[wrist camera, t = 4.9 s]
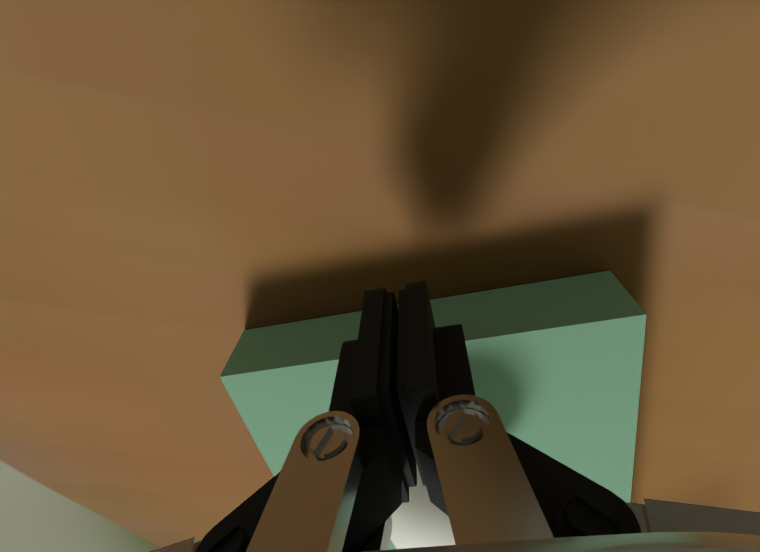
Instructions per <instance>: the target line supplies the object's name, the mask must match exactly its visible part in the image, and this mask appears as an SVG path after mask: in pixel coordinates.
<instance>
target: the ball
mask: <svg viewBox="0 0 760 552" xmlns="http://www.w3.org/2000/svg"><path fill="white" fill-rule="evenodd" d="M416 465H417V463H416ZM391 517H392V532H391V538H390V539H391V541H392V543H393V544H394V546H395V547H396V549H405V548H419V547H432V546H446V545H456V544H455V540H454V536H453V532H452V528H451V524H450V520H449V517H448V516H447V515H446V514H445V513H444V512H442V511H441V510H440V509H439V508H438V507H436V506H435V505H434V504H433V503H431V502H430V499H429V495H428V491H427V488H426V485H425V486H423V484H422V480H421V477H420V473H419V470H418V466H417V486H415V487H409V502H406V503H402V504H401V505H400V507H399V508H398V509H397V510H396V511H395V512H394V513H393V514H392V515H391Z"/></svg>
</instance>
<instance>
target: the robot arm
mask: <svg viewBox="0 0 760 552" xmlns="http://www.w3.org/2000/svg"><path fill="white" fill-rule="evenodd" d="M416 463H417V465H416ZM417 466H418V470H419V473H420V477H421V480H422V484H423V486H425V485H426V488H427V491H428V495H429V499H430V502H431V503H433V504H434V505H435V506H436V507H438V508H439V509H440V510H441V511H442V512H444V513H445V514H446V515H447V516H448V517H449V520H450V524H451V528H452V532H453V536H454V540H455V544H456V545H446V546H432V547H419V548H405V549H392V550H389V544H390V538H391V532H392V517H391V515H392V514H393V513H394V512H395V511H396V510H397V509H398V508H399V507H400V505H401V504H402V503H406V502H409V487H415V486H417ZM151 552H760V512H752V511H743V510H735V509H727V508H719V507H710V506H702V505H694V504H685V503H677V502H669V501H660V500H652V499H644V501H643V504H636V503H628V502H624V500H622V499H621V498H620V497H618V496H617V495H615V494H614V493H613V492H611V491H610V490H608V489H606V488H605V487H603V486H601V485H599V484H597V483H596V482H594V481H592V480H590V479H589V478H587V477H585V476H583V475H582V474H580V473H578V472H576V471H575V470H573V469H571V468H569V467H568V466H566V465H564V464H562V463H560V462H559V461H557V460H555V459H553V458H552V457H550V456H548V455H546V454H545V453H543V452H541V451H539V450H538V449H536V448H534V447H532V446H531V445H529V444H527V443H525V442H524V441H522V440H520V439H518V438H516V437H515V436H513V435H511V434H509V433H508V432H506V430H505V428H504V425H503V423H502V421H501V419H500V417H499V414H498V412H497V411H496V409H495V408H494V407H493V405H492V404H490V403H489V402H488V401H486V400H485V399H483V398H480V397H477V396H476V395H475V390H474V385H473V380H472V374H471V369H470V364H469V359H468V354H467V348H466V343H465V338H464V333H463V328H462V324H456V325H449V326H443V327H435V322H434V317H433V313H432V308H431V303H430V298H429V293H428V288H427V284H426V281H422V282H416V283H410V284H406V290H400V291H399V308H398V306H397V302H396V298H395V295H394V292H388V293H387V291H386V289H385V288H381V289H375V290H369V291H365V293H364V300H363V307H362V313H361V320H360V326H359V333H358V340H351V341H344V342H343V344H342V347H341V351H340V357H339V362H338V367H337V372H336V377H335V382H334V387H333V392H332V397H331V402H330V407H329V412H325V413H322V414H320V415H317V416H315V417H314V418H312V419H311V420H309V421H308V422H307V423H306V424H305V425H304V426H303V427H302V428H301V429H300V430H299V432H298V433H297V435H296V437H295V439H294V441H293V444H292V446H291V448H290V451H289V453H288V455H287V458H286V460H285V462H284V465H283V467H282V469H281V471H280V472H279V473H278V474H277V475H276V476H274V477H273V478H272V479H271V480H270V481H268V482H267V483H266V484H265V485H264V486H262V487H261V488H260V489H259V490H258V491H256V492H255V493H254V494H253V495H252V496H250V497H249V498H248V499H247V500H246V501H244V502H243V503H242V504H241V505H240V506H238V507H237V508H236V509H235V510H234V511H232V512H231V513H230V514H229V515H228V516H226V517H225V518H224V519H223V520H222V521H220V522H219V523H218V524H217V525H216V526H214V527H213V528H212V529H211V530H210V531H209V532H208V533H207V534H206V535H205V537H204V538H203V540H202V541H199V542H198V541H197V539H196V538H195V537H193V538H190V539H187V540H184V541H181V542H178V543H175V544H172V545H169V546H166V547H163V548H160V549H157V550H154V551H151Z"/></svg>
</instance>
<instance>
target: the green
mask: <svg viewBox="0 0 760 552" xmlns="http://www.w3.org/2000/svg"><path fill="white" fill-rule="evenodd" d="M430 303H431V308H432V313H433V317H434V322H435V327H443V326H449V325H456V324H462V328H463V333H464V338H465V343H466V348H467V354H468V359H469V364H470V369H471V374H472V380H473V385H474V390H475V395H476V396H477V397H480V398H483V399H485V400H486V401H488V402H489V403H490V404H492V405H493V407H494V408H495V409H496V411H497V412H498V414H499V417H500V419H501V421H502V423H503V425H504V428H505V430H506V432H508V433H509V434H511V435H513V436H515V437H516V438H518V439H520V440H522V441H524V442H525V443H527V444H529V445H531V446H532V447H534V448H536V449H538V450H539V451H541V452H543V453H545V454H546V455H548V456H550V457H552V458H553V459H555V460H557V461H559V462H560V463H562V464H564V465H566V466H568V467H569V468H571V469H573V470H575V471H576V472H578V473H580V474H582V475H583V476H585V477H587V478H589V479H590V480H592V481H594V482H596V483H597V484H599V485H601V486H603V487H605V488H606V489H608V490H610V491H611V492H613V493H614V494H615V495H617V496H618V497H620V498H621V499H622V500H624V502H628V503H630V500H631V489H632V477H633V465H634V454H635V442H636V431H637V419H638V407H639V396H640V384H641V373H642V361H643V349H644V338H645V326H646V315H647V314H646V313H645V312H644V311H643V310H642V308H641V307H640V306H639V305H638V304H637V302H636V301H635V300H634V299H633V297H632V296H631V295H630V294H629V293H628V291H627V290H626V289H625V288H624V287H623V285H622V284H621V283H620V282H619V281H618V279H617V278H616V277H615V276H614V275H613V273H612V272H611V271H610V270H609V271H603V272H597V273H591V274H585V275H579V276H572V277H566V278H560V279H554V280H548V281H542V282H536V283H530V284H523V285H517V286H511V287H505V288H499V289H493V290H487V291H481V292H474V293H468V294H462V295H456V296H450V297H444V298H438V299H431V300H430ZM397 306H398V308H399V305H397ZM361 313H362V311H358V312H352V313H346V314H340V315H333V316H327V317H321V318H315V319H309V320H303V321H297V322H291V323H284V324H278V325H272V326H266V327H260V328H254V329H248V330H244V331H243V333H242V335H241V337H240V339H239V341H238V343H237V345H236V347H235V349H234V350H233V352H232V354H231V356H230V358H229V360H228V362H227V364H226V366H225V368H224V369H223V371H222V373H221V375H220V378H221V380H222V382H223V384H224V386H225V388H226V389H227V391H228V393H229V395H230V397H231V399H232V400H233V402H234V404H235V406H236V408H237V410H238V411H239V413H240V415H241V417H242V419H243V421H244V422H245V424H246V426H247V428H248V430H249V432H250V433H251V435H252V437H253V439H254V441H255V443H256V444H257V446H258V448H259V450H260V452H261V454H262V455H263V457H264V459H265V461H266V463H267V465H268V466H269V468H270V470H271V472H272V474H273V476H276V475H277V474H278V473H279V472H280V471H281V469H282V467H283V465H284V462H285V460H286V458H287V455H288V453H289V451H290V448H291V446H292V444H293V441H294V439H295V437H296V435H297V433H298V432H299V430H300V429H301V428H302V427H303V426H304V425H305V424H306V423H307V422H308V421H309V420H311V419H312V418H314V417H315V416H317V415H320V414H322V413H325V412H329V407H330V402H331V397H332V392H333V387H334V382H335V377H336V372H337V367H338V362H339V357H340V351H341V347H342V344H343V342H344V341H351V340H358V333H359V326H360V320H361ZM392 549H396V547H395V546H394V544H393V543H392V541H391V539H390V544H389V550H392Z"/></svg>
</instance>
